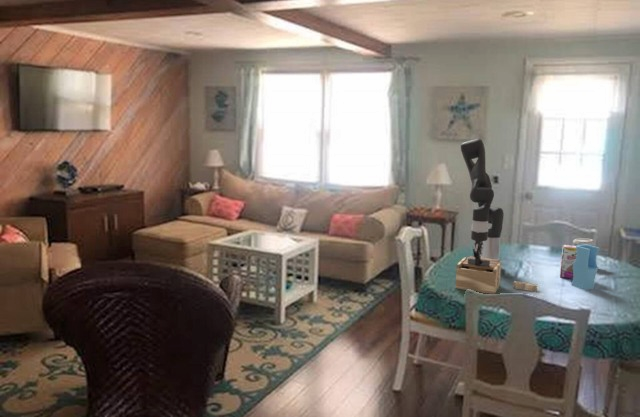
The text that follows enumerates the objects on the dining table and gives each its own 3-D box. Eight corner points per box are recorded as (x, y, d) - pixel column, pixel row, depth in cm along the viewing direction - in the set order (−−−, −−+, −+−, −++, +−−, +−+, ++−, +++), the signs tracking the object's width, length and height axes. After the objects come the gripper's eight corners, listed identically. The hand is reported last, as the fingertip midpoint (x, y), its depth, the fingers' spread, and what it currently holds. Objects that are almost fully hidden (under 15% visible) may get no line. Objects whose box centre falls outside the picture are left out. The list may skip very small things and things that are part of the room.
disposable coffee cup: (570, 266, 300) (573, 240, 298) (570, 262, 310) (572, 236, 307) (592, 269, 296) (595, 242, 294) (590, 264, 306) (593, 238, 303)
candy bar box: (560, 277, 281) (563, 246, 278) (559, 275, 285) (562, 244, 282) (584, 280, 277) (587, 248, 274) (583, 277, 282) (586, 246, 279)
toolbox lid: (469, 258, 277) (469, 251, 277) (499, 262, 270) (500, 255, 270) (462, 265, 264) (462, 258, 264) (493, 270, 257) (494, 262, 257)
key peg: (536, 290, 262) (513, 286, 266) (537, 284, 261) (514, 281, 266) (536, 292, 259) (513, 288, 264) (536, 286, 259) (513, 282, 263)
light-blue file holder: (585, 290, 262) (589, 249, 258) (570, 285, 269) (574, 245, 265) (595, 287, 265) (600, 247, 262) (581, 283, 272) (585, 244, 269)
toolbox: (463, 279, 276) (464, 257, 274) (499, 285, 268) (501, 262, 266) (455, 288, 263) (456, 264, 261) (494, 294, 255) (495, 269, 252)
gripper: (474, 226, 264) (472, 261, 267) (468, 231, 252) (466, 267, 255) (490, 228, 260) (488, 263, 263) (485, 233, 249) (482, 270, 252)
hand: (477, 265), depth 259 cm, fingers closed
